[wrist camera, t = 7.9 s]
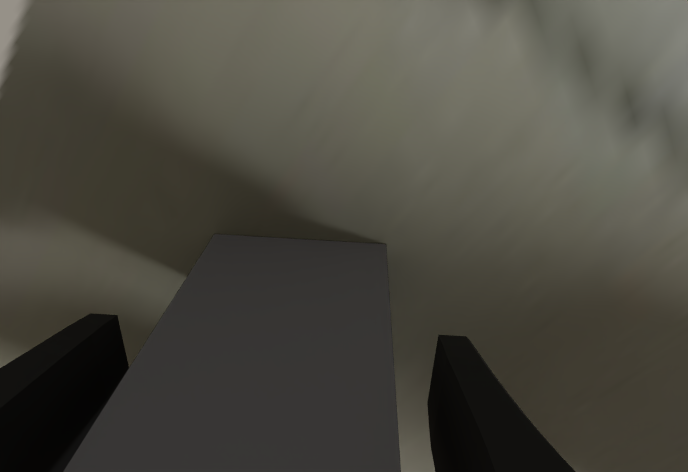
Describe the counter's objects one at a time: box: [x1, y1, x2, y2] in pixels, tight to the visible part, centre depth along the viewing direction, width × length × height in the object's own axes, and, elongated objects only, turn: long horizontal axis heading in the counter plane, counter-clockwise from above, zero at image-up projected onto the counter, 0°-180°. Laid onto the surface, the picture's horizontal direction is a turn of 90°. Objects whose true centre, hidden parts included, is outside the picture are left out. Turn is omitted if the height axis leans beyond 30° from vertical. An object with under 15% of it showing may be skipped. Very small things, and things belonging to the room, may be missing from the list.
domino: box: [63, 234, 401, 472], centre depth 10 cm, size 2×5×9 cm, turn 87°
